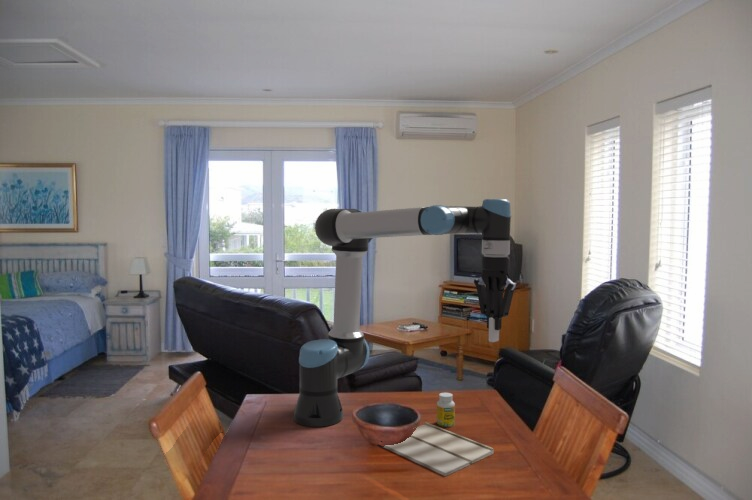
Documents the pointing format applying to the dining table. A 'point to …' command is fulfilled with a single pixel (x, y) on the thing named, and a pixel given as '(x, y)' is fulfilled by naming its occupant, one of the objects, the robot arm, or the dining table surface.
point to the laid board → (428, 456)
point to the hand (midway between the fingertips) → (493, 341)
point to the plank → (452, 443)
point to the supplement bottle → (445, 410)
